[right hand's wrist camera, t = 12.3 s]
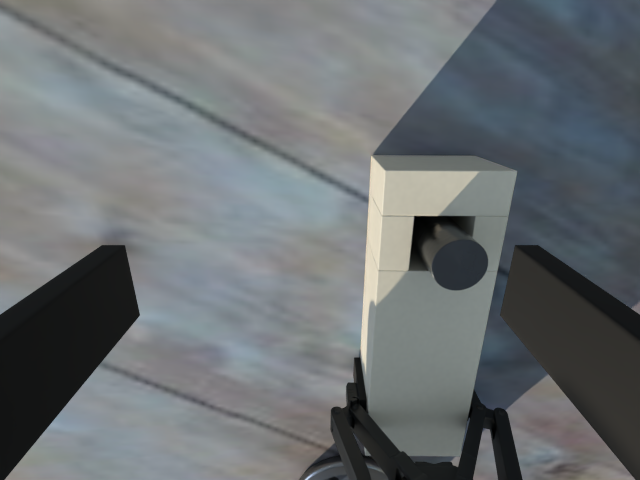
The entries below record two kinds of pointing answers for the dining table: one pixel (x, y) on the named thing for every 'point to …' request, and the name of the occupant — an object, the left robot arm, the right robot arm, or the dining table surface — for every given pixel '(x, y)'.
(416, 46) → the dining table surface
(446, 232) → the peg
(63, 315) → the right robot arm
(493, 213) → the peg block
